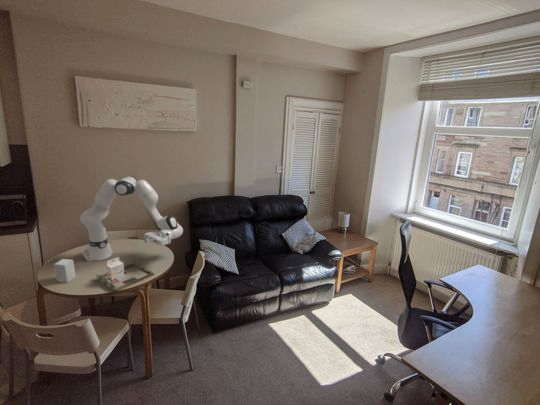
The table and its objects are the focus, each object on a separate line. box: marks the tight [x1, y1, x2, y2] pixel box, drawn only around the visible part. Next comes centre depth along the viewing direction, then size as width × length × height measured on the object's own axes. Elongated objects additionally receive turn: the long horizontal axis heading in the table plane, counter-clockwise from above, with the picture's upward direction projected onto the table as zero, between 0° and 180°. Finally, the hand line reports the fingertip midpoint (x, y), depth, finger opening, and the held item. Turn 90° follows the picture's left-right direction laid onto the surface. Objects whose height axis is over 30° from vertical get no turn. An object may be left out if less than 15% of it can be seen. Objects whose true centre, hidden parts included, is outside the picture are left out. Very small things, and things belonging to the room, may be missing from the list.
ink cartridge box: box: [106, 256, 126, 284], centre depth 186 cm, size 9×5×15 cm, turn 146°
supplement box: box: [53, 258, 77, 284], centre depth 184 cm, size 7×7×13 cm
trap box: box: [96, 262, 155, 292], centre depth 192 cm, size 23×26×4 cm
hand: (145, 241), depth 200 cm, fingers closed
